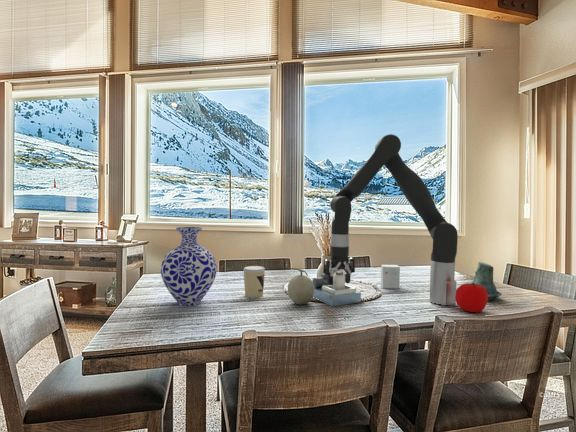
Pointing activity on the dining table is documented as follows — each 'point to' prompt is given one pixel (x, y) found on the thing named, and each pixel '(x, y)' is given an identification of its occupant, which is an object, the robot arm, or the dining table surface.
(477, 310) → the tomato
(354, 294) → the motor housing
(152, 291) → the dining table surface
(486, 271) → the tree stump
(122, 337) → the dining table surface
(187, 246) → the vase
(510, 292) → the dining table surface
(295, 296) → the fruit
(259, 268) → the coffee cup
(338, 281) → the pump module
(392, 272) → the small box
